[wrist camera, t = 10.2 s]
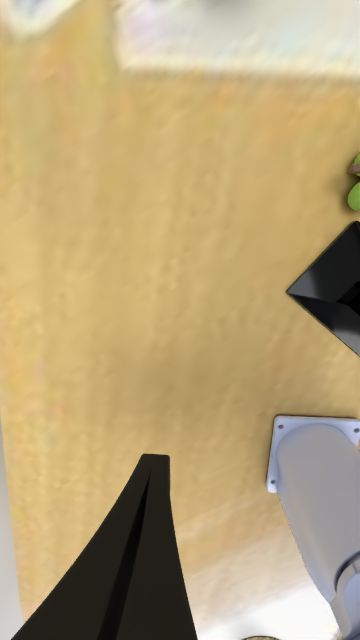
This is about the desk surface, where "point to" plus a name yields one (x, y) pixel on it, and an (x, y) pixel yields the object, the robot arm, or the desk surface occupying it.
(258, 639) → the hand bell
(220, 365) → the desk surface
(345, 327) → the build plate
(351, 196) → the grapes
